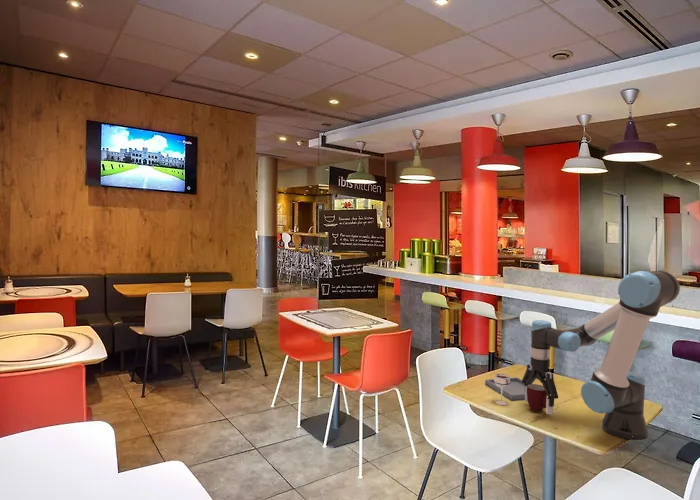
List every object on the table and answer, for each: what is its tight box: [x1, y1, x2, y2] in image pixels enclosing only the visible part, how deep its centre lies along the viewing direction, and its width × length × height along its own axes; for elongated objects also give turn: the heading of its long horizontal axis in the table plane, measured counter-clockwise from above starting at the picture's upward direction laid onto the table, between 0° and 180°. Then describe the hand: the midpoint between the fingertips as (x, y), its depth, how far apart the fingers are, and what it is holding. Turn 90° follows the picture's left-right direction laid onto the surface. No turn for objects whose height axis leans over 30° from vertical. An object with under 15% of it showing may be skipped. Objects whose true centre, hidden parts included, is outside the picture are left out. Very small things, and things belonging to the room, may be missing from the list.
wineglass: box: [493, 373, 511, 406], centre depth 201 cm, size 7×7×12 cm
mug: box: [527, 383, 548, 413], centre depth 192 cm, size 10×8×10 cm
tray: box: [484, 376, 525, 402], centre depth 216 cm, size 22×18×2 cm
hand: (538, 407), depth 192 cm, fingers open, 13 cm apart
